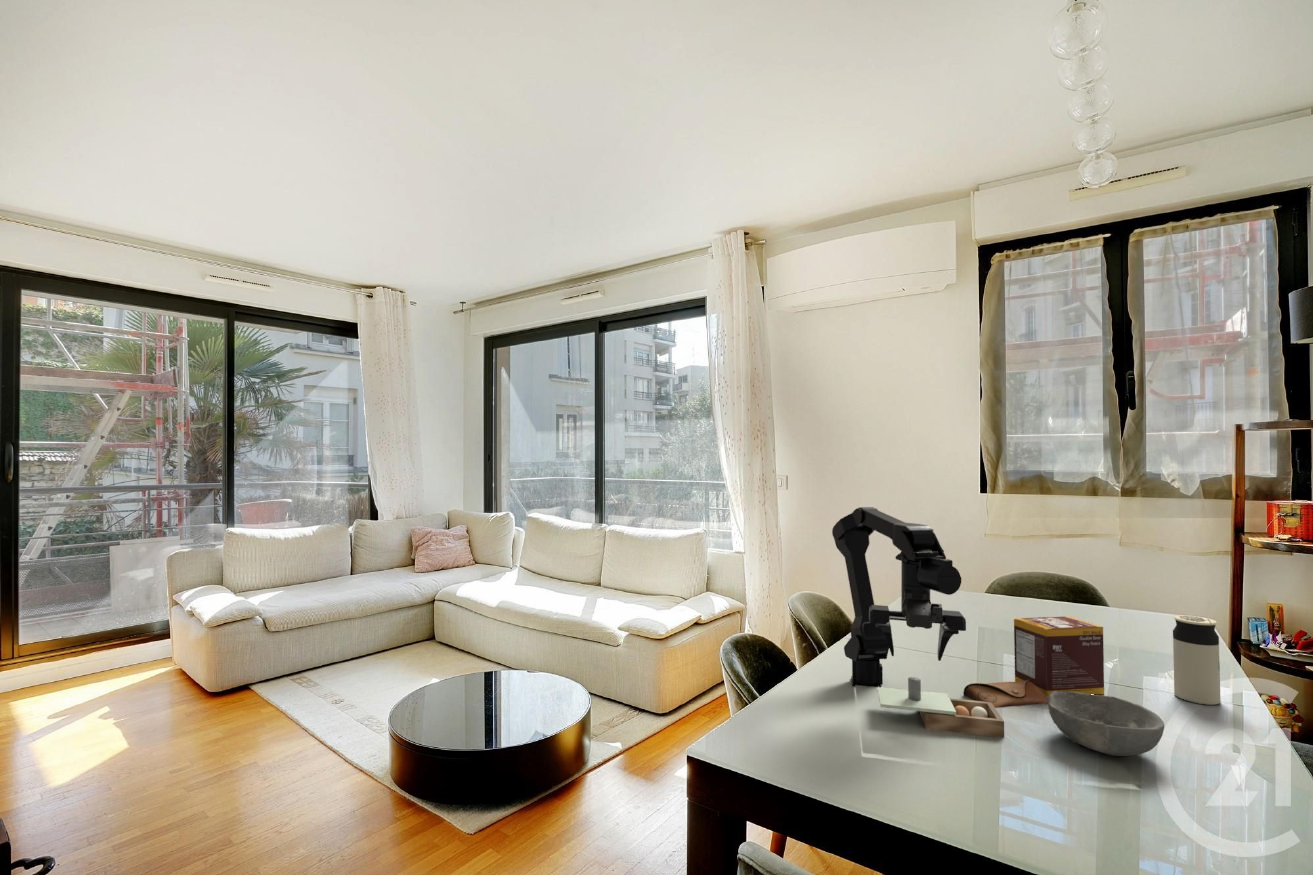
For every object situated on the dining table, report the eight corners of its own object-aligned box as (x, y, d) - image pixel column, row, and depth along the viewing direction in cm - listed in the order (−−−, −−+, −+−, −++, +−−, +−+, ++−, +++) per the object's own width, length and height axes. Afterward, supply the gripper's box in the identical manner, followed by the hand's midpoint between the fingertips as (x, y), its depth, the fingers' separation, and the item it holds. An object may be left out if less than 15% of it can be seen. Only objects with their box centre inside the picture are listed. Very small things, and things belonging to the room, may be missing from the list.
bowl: (1172, 783, 105) (1171, 734, 105) (1048, 756, 114) (1047, 712, 115) (1157, 743, 120) (1156, 700, 121) (1048, 722, 130) (1047, 682, 130)
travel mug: (1173, 699, 143) (1171, 619, 143) (1175, 690, 148) (1173, 613, 149) (1220, 708, 137) (1217, 625, 138) (1221, 698, 143) (1218, 618, 144)
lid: (880, 707, 127) (880, 683, 127) (877, 689, 137) (876, 668, 137) (956, 714, 123) (955, 691, 123) (947, 696, 133) (946, 674, 133)
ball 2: (973, 724, 127) (972, 708, 127) (969, 718, 130) (969, 703, 130) (989, 725, 126) (989, 710, 126) (985, 719, 129) (985, 705, 129)
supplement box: (1105, 694, 145) (1104, 626, 146) (1046, 698, 143) (1045, 628, 144) (1069, 679, 156) (1068, 615, 156) (1013, 682, 153) (1012, 617, 154)
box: (925, 731, 125) (925, 713, 125) (919, 712, 134) (918, 695, 134) (1004, 740, 121) (1004, 721, 121) (991, 719, 131) (991, 702, 131)
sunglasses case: (989, 712, 134) (978, 679, 138) (970, 717, 140) (959, 686, 144) (1060, 705, 138) (1047, 674, 142) (1039, 711, 144) (1027, 681, 148)
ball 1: (954, 723, 127) (954, 708, 128) (951, 717, 130) (951, 702, 130) (970, 724, 127) (970, 709, 127) (967, 718, 129) (967, 704, 130)
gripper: (871, 588, 129) (870, 665, 129) (971, 595, 124) (971, 675, 124) (869, 578, 140) (868, 649, 140) (961, 584, 135) (961, 658, 134)
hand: (915, 657), depth 134 cm, fingers open, 9 cm apart
